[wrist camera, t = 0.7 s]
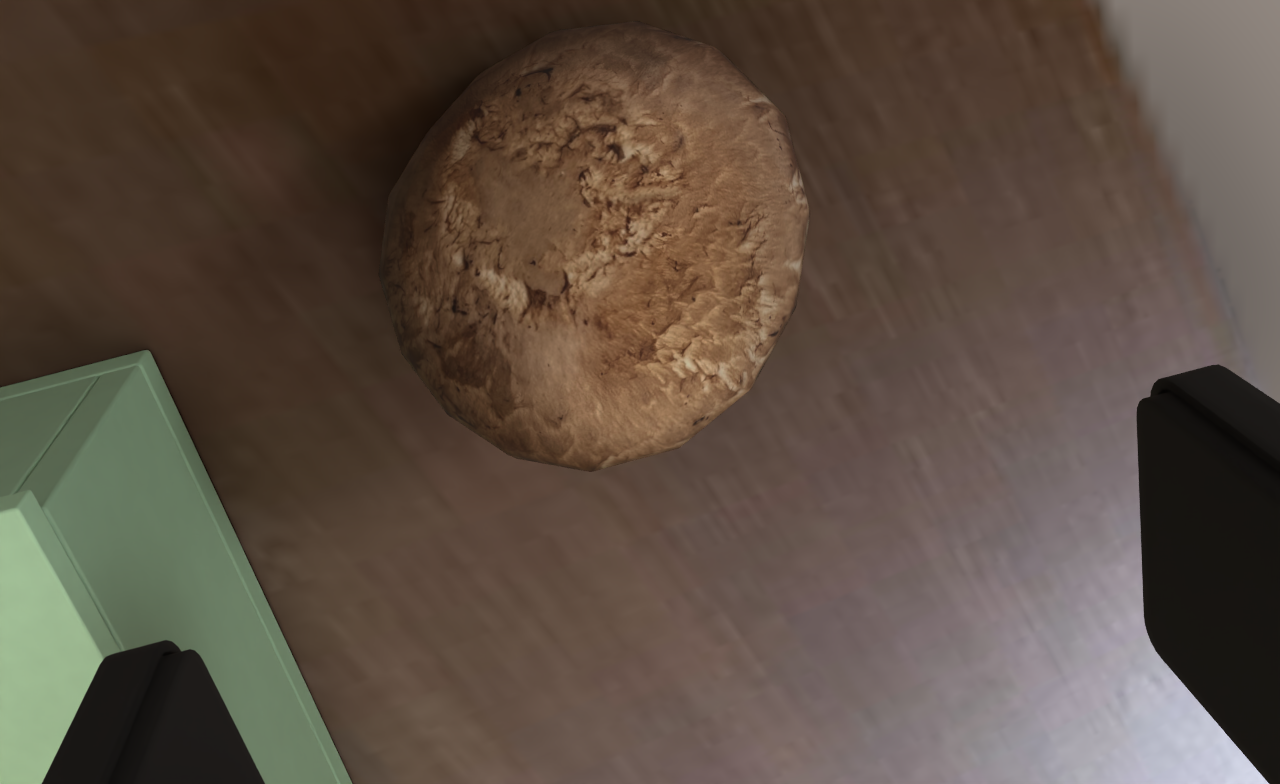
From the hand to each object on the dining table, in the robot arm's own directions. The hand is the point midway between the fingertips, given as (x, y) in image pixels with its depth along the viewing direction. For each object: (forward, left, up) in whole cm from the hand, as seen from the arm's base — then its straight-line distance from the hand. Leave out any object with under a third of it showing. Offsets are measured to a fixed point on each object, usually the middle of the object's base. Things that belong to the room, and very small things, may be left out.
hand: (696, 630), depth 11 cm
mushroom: (0, 0, -14) cm, 14 cm away
